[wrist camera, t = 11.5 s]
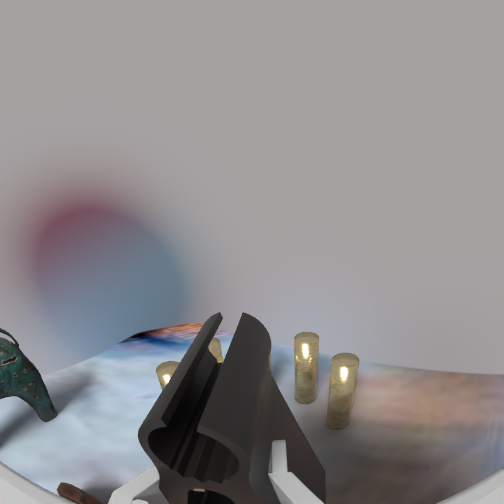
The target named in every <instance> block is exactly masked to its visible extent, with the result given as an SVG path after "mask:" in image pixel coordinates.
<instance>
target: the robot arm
mask: <svg viewBox="0 0 504 504" xmlns="http://www.w3.org/2000/svg"><path fill="white" fill-rule="evenodd" d="M268 476H269V478H270V480H271V483H272V485H273V487H274V490H275V492H276V494H277V496H278V499H279V501H280V503H281V504H324V503H323V502H322V501H321V500H320V499H318V498H317V497H316V496H315V495H314V494H313V493H312V492H311V491H310V490H309V489H308V488H307V487H306V486H305V485H304V484H303V483H302V482H301V481H300V480H299V479H298V478H297V477H296V476H295V475H294V474H293V473H292V472H288V470H287V455H286V442H285V440H273V442H272V445H271V452H270V460H269V467H268ZM193 491H205V489H194V490H193ZM0 504H76V503H74V502H71V501H69V500H67V499H65V498H63V497H61V496H59V495H56V494H54V493H52V492H50V491H49V490H47V489H45V488H43V487H41V486H39V485H37V484H36V483H34V482H32V481H30V480H29V479H27V478H25V477H24V476H22V475H20V474H19V473H17V472H15V471H14V470H12V469H11V468H9V467H8V466H6V465H5V464H3V463H2V462H0ZM108 504H169V502H168V501H167V500H166V498H165V497H164V495H163V494H162V492H161V491H160V490H159V473H158V471H157V469H156V467H155V466H153V465H152V466H151V467H150V468H148V469H147V470H145V471H144V472H142V473H141V474H139V475H138V476H137V477H135V478H134V479H132V480H130V481H129V482H127V483H126V484H124V485H123V486H121V487H120V488H118V489H116V490H115V491H113V493H112V495H111V498H110V500H109V502H108ZM436 504H504V468H501V469H499V470H498V471H496V472H495V473H493V474H491V475H490V476H488V477H486V478H485V479H483V480H481V481H480V482H478V483H476V484H474V485H473V486H471V487H469V488H467V489H465V490H463V491H461V492H459V493H457V494H455V495H453V496H451V497H449V498H447V499H445V500H443V501H441V502H438V503H436Z"/></svg>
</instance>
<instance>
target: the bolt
mask: <svg viewBox="0 0 504 504" xmlns="http://www.w3.org/2000/svg"><path fill="white" fill-rule="evenodd" d="M57 491H58V493H59V496H61V497H63V498H65V499H67V500H69V501H71V502H74V503H76V504H102V503H101V502H100V501H99V500H97V499H96V498H94V497H93V496H91V495H89V494H87V493H86V492H84V491H82V490H81V489H79V488H77V487H75V486H73V485H71V484H68V483H60V485H59V487H58V488H57Z"/></svg>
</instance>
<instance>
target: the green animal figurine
mask: <svg viewBox="0 0 504 504" xmlns="http://www.w3.org/2000/svg"><path fill="white" fill-rule="evenodd" d="M0 332H1V333H4V334H6V335H8V336H9V337H11V338H12V339H13V341H14V342H15V344H14V343H12V342H10V341H8V340H7V339H5V338H1V337H0V399H2V398H5V397H11V396H17V397H19V398H21V399H22V400H24V401H25V402H27V403H28V404H29V405H30V406H31V407H33V409H34V410H35V411H36V413H37V414H38V416H39V417H40V418H41V420H42V421H44V422H47V421H50V420H52V419H53V418H54V417H55V416H56V415H57V413H56V411H55V409H54V407H53V404H52V402H51V399H50V397H49V394H48V391H47V389H46V386H45V384H44V382H43V380H42V377H41V375H40V373H39V371H38V370H37V369H36V367H35V366H34V364H33V363H31V362H30V361H29V359H28V358H27V357H26V356H25V355H24V354H23V353H22V351H21V350H20V349H19V344H18V343H17V341H16V340H15V339H14V338H13V337H12V335H10V334H9V333H8V332H6V331H5V330H3V329H1V328H0Z"/></svg>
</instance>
